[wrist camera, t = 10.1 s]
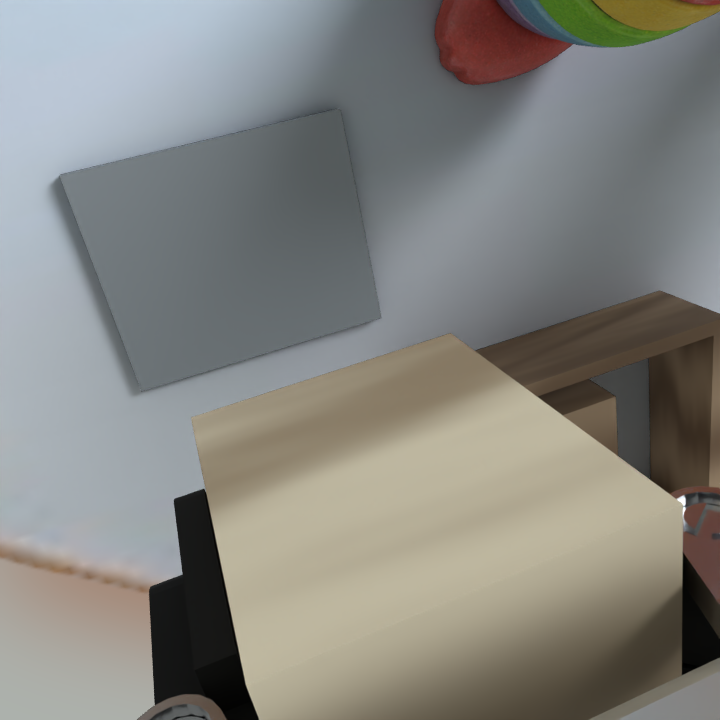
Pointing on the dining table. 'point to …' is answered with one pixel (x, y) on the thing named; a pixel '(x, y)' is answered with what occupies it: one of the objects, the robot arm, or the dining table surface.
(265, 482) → the birch block
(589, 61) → the dining table surface
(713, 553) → the robot arm
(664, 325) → the frame
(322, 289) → the slate mat
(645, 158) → the dining table surface
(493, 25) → the stacking bear
